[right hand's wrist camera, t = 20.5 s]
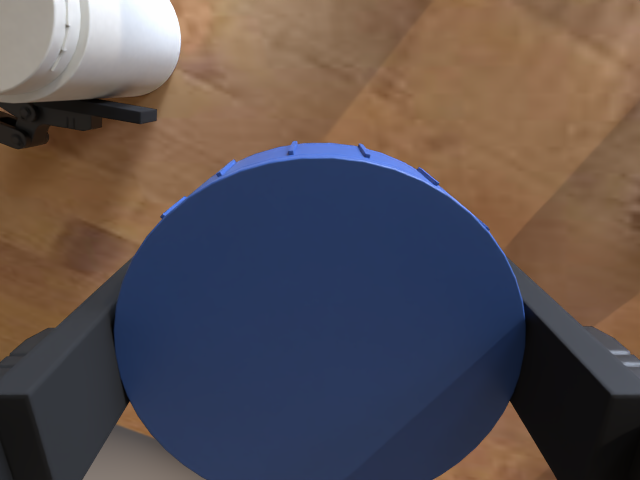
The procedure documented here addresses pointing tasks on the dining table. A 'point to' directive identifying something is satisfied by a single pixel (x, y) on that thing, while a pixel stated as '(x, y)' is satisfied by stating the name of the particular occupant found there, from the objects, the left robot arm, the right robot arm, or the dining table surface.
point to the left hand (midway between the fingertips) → (151, 35)
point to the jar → (85, 48)
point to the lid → (319, 322)
